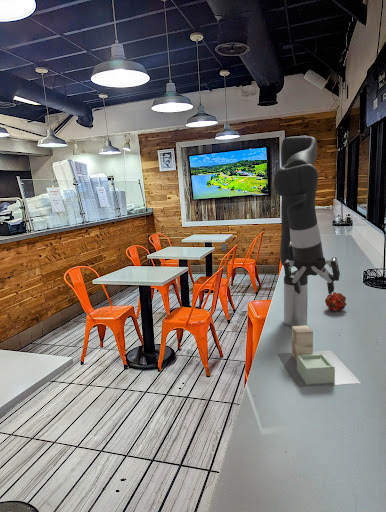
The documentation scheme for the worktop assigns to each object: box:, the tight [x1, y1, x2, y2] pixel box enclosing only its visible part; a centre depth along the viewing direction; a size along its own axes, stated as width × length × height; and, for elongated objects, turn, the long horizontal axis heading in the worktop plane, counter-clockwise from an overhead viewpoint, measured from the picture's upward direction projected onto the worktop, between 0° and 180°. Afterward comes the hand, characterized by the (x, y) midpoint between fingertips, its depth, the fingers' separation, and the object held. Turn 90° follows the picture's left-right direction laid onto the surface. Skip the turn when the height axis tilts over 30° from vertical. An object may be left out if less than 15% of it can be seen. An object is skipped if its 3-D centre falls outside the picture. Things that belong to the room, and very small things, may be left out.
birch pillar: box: [291, 324, 314, 362], centre depth 109 cm, size 5×5×10 cm
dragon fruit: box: [324, 291, 348, 312], centre depth 152 cm, size 8×8×12 cm
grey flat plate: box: [277, 349, 362, 388], centre depth 104 cm, size 20×18×1 cm
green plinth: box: [297, 354, 335, 385], centre depth 99 cm, size 8×8×5 cm
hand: (314, 292), depth 97 cm, fingers open, 8 cm apart
